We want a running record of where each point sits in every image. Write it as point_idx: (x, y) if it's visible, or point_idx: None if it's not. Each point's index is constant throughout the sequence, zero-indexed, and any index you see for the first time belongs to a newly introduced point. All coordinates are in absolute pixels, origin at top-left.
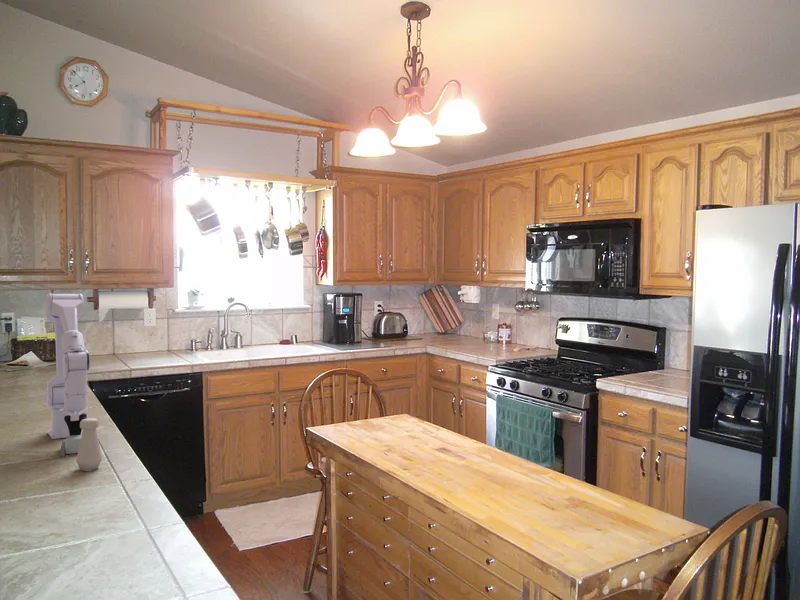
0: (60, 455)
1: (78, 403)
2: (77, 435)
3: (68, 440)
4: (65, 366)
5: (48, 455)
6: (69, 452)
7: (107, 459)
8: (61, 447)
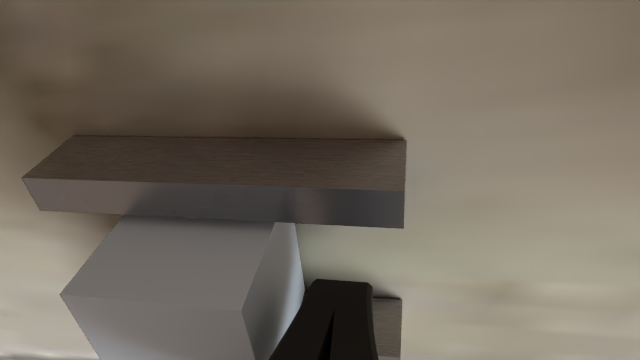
0: (63, 144)
1: None
2: None
3: (78, 298)
4: None
5: (133, 20)
6: None
7: (44, 355)
8: (111, 186)
